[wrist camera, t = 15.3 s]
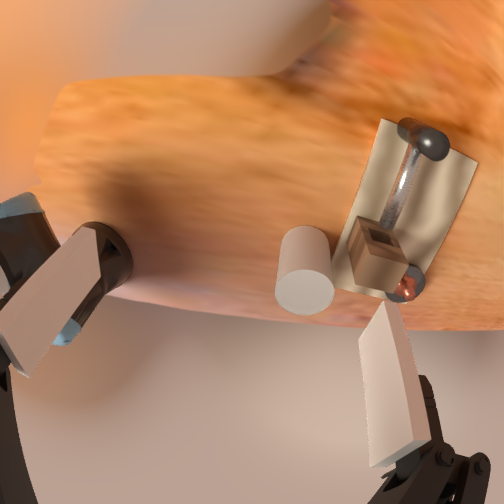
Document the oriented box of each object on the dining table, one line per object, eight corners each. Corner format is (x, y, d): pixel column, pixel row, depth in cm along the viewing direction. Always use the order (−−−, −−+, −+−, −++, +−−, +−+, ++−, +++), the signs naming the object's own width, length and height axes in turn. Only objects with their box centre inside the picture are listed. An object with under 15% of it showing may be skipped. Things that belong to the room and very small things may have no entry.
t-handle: (368, 207, 43) (383, 241, 35) (401, 113, 35) (428, 126, 26) (388, 213, 43) (407, 248, 35) (422, 123, 35) (453, 138, 26)
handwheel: (374, 266, 49) (384, 302, 41) (415, 248, 46) (433, 282, 38) (389, 304, 53) (399, 340, 45) (427, 288, 50) (441, 323, 42)
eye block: (321, 281, 54) (324, 329, 44) (381, 118, 37) (409, 133, 27) (405, 300, 53) (419, 346, 43) (475, 160, 37) (515, 189, 27)
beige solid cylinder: (290, 271, 54) (286, 319, 44) (273, 233, 50) (265, 278, 40) (334, 260, 51) (340, 307, 41) (321, 219, 47) (325, 262, 37)
